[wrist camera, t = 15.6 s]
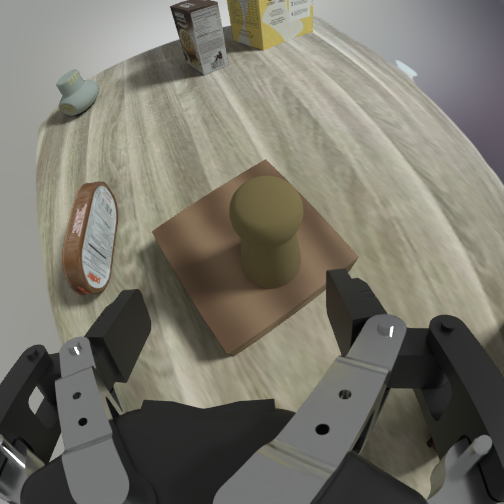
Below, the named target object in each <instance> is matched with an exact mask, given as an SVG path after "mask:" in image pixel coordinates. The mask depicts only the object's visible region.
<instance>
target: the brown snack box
mask: <svg viewBox="0 0 504 504" xmlns="http://www.w3.org/2000/svg"><path fill="white" fill-rule="evenodd" d="M170 8H171V11H172V15H173V18H174V21H175V25H176V28H177V31H178V35H179V38H180V41H181V45H182V48H183V52H184V55H185V58H186V62H187V64H189V65H190V66H192V67H193V68H194V69H196V70H197V71H199V72H200V73H202V74H203V75H206V74H208V73H211V72H213V71H215V70H218V69H220V68H223V67H225V66H228V65H229V63H228V58H227V52H226V46H225V41H224V35H223V29H222V24H221V18H220V12H219V7H218V2H215V1H211V0H188V1H184V2H181V3H178V4H175V5H173V6H170Z"/></svg>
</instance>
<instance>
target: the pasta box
mask: <svg viewBox="0 0 504 504" xmlns="http://www.w3.org/2000/svg"><path fill="white" fill-rule="evenodd" d="M227 4H228V10H229V16H230V22H231V28H232V34H233V40H234V41H236V42H239V43H243V44H246V45H249V46H252V47H255V48H258V49H261V50H265V49H268V48H270V47H273V46H275V45H277V44H280V43H282V42H285V41H288V40H290V39H293V38H296V37H298V36H301V35H304V34H307V33H310V32H313V0H227Z"/></svg>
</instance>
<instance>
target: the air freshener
mask: <svg viewBox="0 0 504 504" xmlns="http://www.w3.org/2000/svg"><path fill="white" fill-rule="evenodd" d="M56 86H57V87H58V89H59V91H60V92H61V94H62V95H63V96H62V98H61V101H60V104H59V109H60V110H61V111H62V112H63V113H64V114H66V115H70V116H73V115H77V114H80V113H81V112H83V111H85V110H86V109H87V108H89V107H90V106H91V105H92V104H93V102H94V101H95V100H96V98H97V96H98V94H99V85H98V84H97V83H96V82H94V81H92V80H83V79H82V77H81V75H80V73H79V72H78V70H72V71H70V72H68V73H66V74H65V75H64V76H62V77H61V78H60V79H59V80H58V82H57V85H56Z"/></svg>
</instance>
